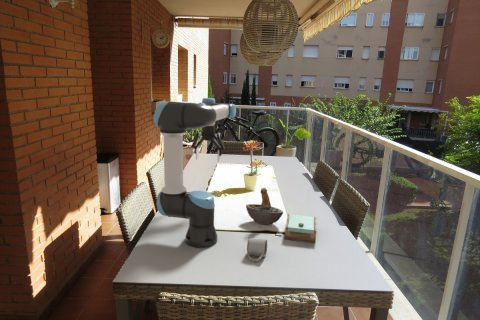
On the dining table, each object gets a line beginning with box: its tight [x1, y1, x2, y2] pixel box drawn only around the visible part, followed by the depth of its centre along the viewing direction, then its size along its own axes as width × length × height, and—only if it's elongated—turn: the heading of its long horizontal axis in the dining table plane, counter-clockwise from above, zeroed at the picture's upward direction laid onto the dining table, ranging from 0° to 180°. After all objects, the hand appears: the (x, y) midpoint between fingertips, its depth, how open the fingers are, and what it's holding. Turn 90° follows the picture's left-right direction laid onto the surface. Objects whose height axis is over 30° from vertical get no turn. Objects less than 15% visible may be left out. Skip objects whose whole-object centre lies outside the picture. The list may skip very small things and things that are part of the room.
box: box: [284, 213, 317, 244], centre depth 176 cm, size 18×15×6 cm
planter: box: [245, 187, 284, 225], centre depth 186 cm, size 15×17×20 cm
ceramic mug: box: [246, 237, 268, 263], centre depth 151 cm, size 11×8×8 cm
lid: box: [288, 214, 315, 234], centre depth 175 cm, size 17×12×3 cm
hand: (207, 160), depth 208 cm, fingers open, 13 cm apart
